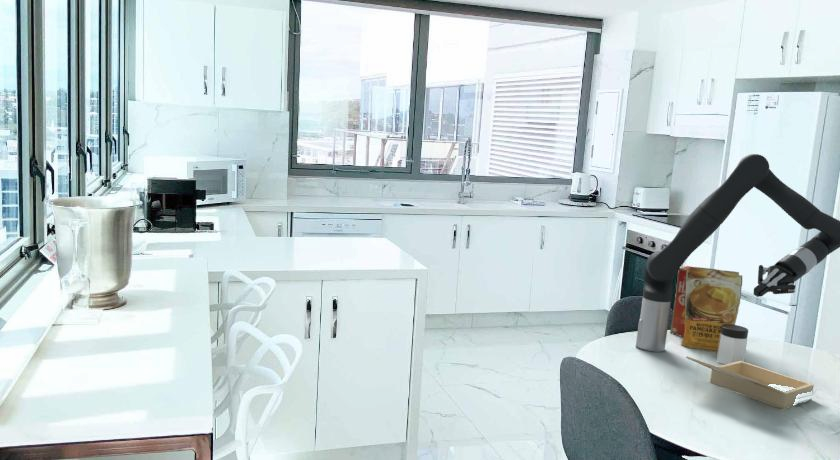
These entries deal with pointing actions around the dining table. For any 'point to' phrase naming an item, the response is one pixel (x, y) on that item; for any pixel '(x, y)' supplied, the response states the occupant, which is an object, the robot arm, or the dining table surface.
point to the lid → (735, 375)
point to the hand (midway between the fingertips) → (755, 293)
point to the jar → (732, 344)
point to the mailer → (758, 391)
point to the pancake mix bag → (709, 305)
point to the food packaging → (679, 304)
